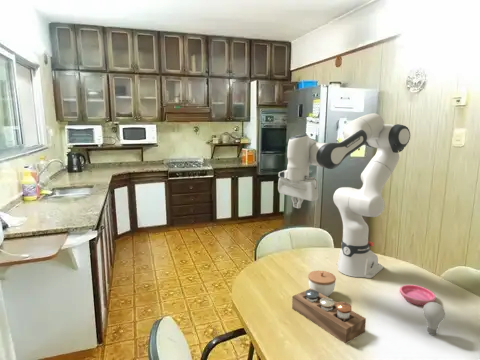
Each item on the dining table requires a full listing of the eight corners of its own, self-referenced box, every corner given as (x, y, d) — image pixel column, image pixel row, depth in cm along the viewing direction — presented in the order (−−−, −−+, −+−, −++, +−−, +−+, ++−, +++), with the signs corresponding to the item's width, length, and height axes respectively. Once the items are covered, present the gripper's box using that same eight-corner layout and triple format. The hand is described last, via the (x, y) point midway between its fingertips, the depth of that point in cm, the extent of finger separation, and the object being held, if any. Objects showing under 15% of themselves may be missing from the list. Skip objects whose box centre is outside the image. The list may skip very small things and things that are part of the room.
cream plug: (325, 312, 116) (326, 296, 115) (336, 318, 112) (337, 302, 111) (316, 316, 113) (317, 300, 112) (327, 323, 109) (327, 306, 108)
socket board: (310, 300, 125) (311, 288, 124) (364, 332, 105) (365, 318, 105) (292, 308, 120) (292, 296, 119) (345, 343, 100) (346, 329, 99)
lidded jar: (302, 292, 131) (302, 271, 129) (319, 285, 137) (319, 264, 136) (323, 304, 122) (324, 281, 121) (340, 295, 129) (341, 273, 127)
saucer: (434, 296, 128) (435, 288, 128) (436, 311, 117) (436, 303, 117) (399, 288, 134) (400, 281, 133) (398, 302, 123) (399, 295, 123)
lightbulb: (416, 329, 107) (419, 298, 105) (434, 327, 108) (437, 297, 106) (429, 340, 101) (432, 309, 99) (447, 339, 102) (450, 308, 100)
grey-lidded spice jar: (311, 303, 121) (311, 288, 120) (320, 309, 117) (321, 293, 116) (302, 307, 119) (302, 291, 118) (311, 313, 115) (312, 297, 114)
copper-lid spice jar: (341, 316, 110) (342, 300, 109) (353, 323, 106) (354, 306, 105) (332, 321, 107) (333, 304, 106) (344, 328, 103) (345, 311, 102)
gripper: (322, 177, 123) (321, 211, 126) (286, 171, 140) (286, 202, 142) (311, 178, 120) (310, 214, 122) (275, 172, 136) (275, 203, 139)
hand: (296, 207), depth 132 cm, fingers closed
